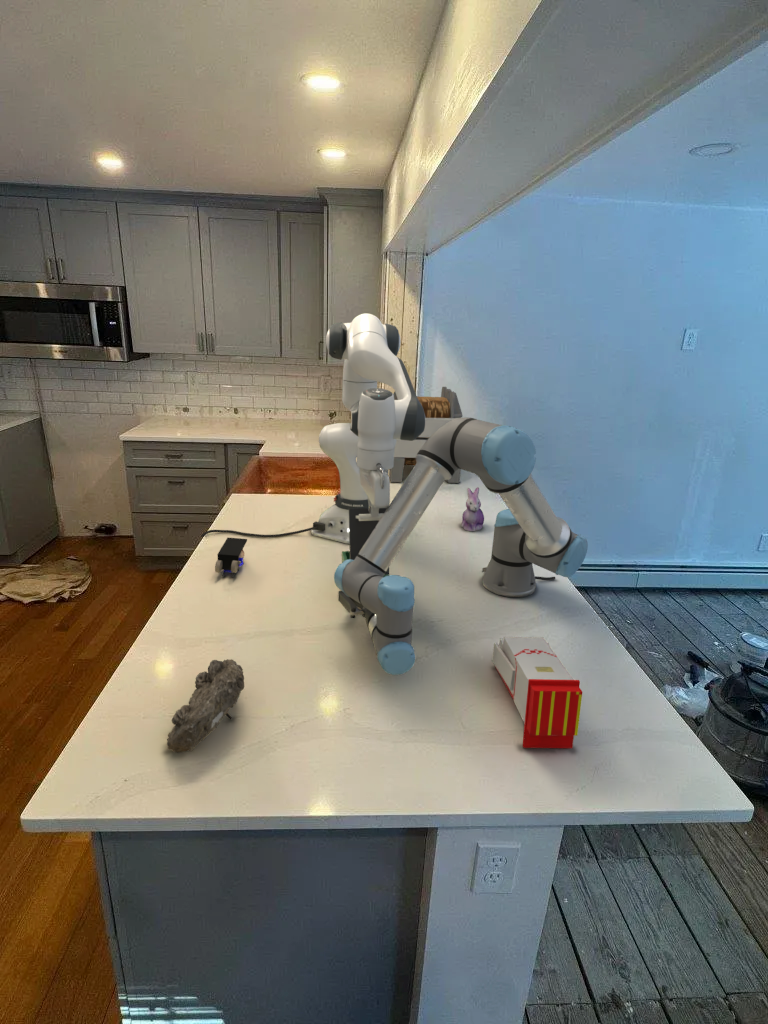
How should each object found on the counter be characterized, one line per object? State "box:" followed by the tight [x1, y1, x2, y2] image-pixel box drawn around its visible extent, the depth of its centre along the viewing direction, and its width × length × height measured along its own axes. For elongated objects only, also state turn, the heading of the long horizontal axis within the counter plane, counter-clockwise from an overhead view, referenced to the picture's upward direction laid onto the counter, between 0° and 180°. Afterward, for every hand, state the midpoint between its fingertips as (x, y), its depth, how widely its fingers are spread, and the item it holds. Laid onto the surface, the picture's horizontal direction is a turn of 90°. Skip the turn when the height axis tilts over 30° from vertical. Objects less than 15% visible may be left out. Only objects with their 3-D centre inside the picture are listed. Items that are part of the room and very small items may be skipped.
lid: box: [348, 508, 390, 575], centre depth 142 cm, size 17×10×8 cm
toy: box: [491, 636, 583, 749], centre depth 115 cm, size 12×13×30 cm
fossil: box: [166, 658, 245, 754], centre depth 106 cm, size 22×10×15 cm
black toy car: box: [214, 537, 248, 578], centre depth 166 cm, size 7×8×15 cm
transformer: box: [388, 386, 463, 484], centre depth 268 cm, size 34×33×41 cm
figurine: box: [461, 486, 485, 532], centre depth 206 cm, size 9×10×15 cm
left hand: (373, 514), depth 139 cm, fingers closed, pressing on lid
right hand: (367, 580), depth 150 cm, fingers closed on chest, 10 cm apart
